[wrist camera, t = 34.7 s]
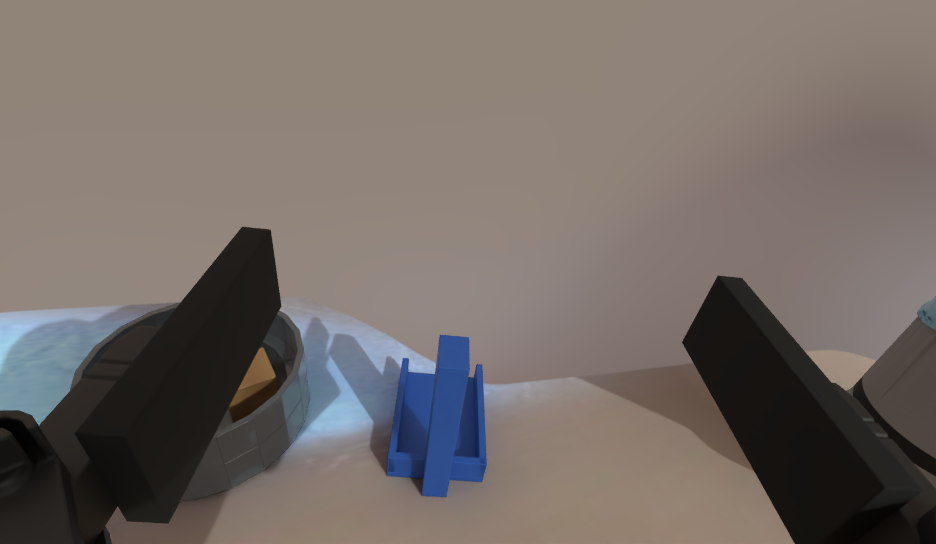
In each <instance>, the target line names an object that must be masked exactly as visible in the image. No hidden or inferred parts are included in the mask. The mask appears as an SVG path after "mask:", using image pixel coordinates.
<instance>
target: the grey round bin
mask: <svg viewBox="0 0 936 544" xmlns="http://www.w3.org/2000/svg"><path fill="white" fill-rule="evenodd" d="M180 303H181V302H180ZM180 303H177V304H174V305H170V306H167V307H164V308H161V309H158V310H155V311H151V312H149V313H147V314H145V315H143V316H141V317H139V318H137V319H135V320H133V321H131V322H129V323H127V324H125V325H123V326H121V327H120V328H118V329H117V330H116V331H115V332H113V333H112V334H111V335H109V336H108V337H107V338H106V339H104V340H103V341H102V342H100V343H99V344H98V345H97V346H95V347H94V348H93V349H92V351H91V352H90V353H89V354H88V356H87V357H86V358H85V360H84V361H83V362H82V363H81V365H80V366H79V367H78V369H77V370H76V372H75V374H74V378H73V381H72V385H71V388H70V391H71V390H72V388H73V387H74V386H75V385H76V384H77V383H78V382H79V381H80V380H81V378H82V379H84V378H85V374H86V373H87V372H88V371H89V370H90V369H91V367H92V366H93V365H94V364H95V363H98V362H99V359H100V357H101V356H102V355H103V354H104V353H105V352H106V351H107V350H108V349H109V347H110V346H111V345H112V344H113V343H114V342H115V341H116V340H117V339H119V338H120V337H122V336H124V335H125V334H127V333H128V332H130V331H131V330H133V329H135V328H136V327H138V326H139V325H144V326H156V327H161V326H162V325H163V324H164V323H165V321H166V320H167V319H168V318H169V316H170V315H171V314H172V313H173V311H174V310H175V309H176V308H177V307H178V305H179V304H180ZM260 348H264V350H265V352H266V354H267V357H268V359H269V361H270V364H271V366H272V368H273V370H274V373H275V375H276V379H277V385H278V392H277V393H276V394H275V395H274V396H272V397H271V398H270V399H269V400H268V401H266V402H265V403H264V404H263V405H261V406H260V407H259V408H258V409H256V410H255V411H254V412H253V413H251V414H250V415H248V416H246V417H244V418H242V419H240V420H238V421H236V422H234V423H233V421H232V418H231V415H230V412H229V409H228V410H227V412H226V414H225V415H224V417H223V419H222V421H221V423H220V425H219V427H218V429H217V431H216V433H215V435H214V437H213V439H212V440H211V442H210V444H209V446H208V448H207V450H206V452H205V454H204V456H203V458H202V460H201V462H200V464H199V466H198V467H197V469H196V471H195V473H194V475H193V477H192V479H191V481H190V483H189V485H188V487H187V489H186V491H185V492H184V494H183V496H182V498H181V500H193V499H194V500H195V499H199V498H202V497H205V496H209V495H212V494H215V493H218V492H222V491H225V490H228V489H231V488H233V487H235V486H237V485H239V484H240V483H242V482H244V481H246V480H247V479H249V478H251V477H253V476H254V475H256V474H258V473H260V472H261V471H263V470H264V469H266V468H267V467H268V466H269V465H270V464H271V463H272V462H274V461H275V460H276V459H277V458H278V457H279V456H280V455H281V454H282V453H283V452H284V451H285V450H286V449H287V448H288V447H289V446H290V445H291V443H292V441H293V440H294V438H295V437H296V435H297V433H298V432H299V430H300V428H301V427H302V425H303V423H304V422H305V417H306V413H307V408H308V403H309V391H308V382H307V374H306V365H305V356H304V348H303V344H302V339H301V334H300V331H299V329H298V328H297V327H296V325H295V324H294V323H293V322H292V320H291V319H290V318H289V317H288V316H287V315H286V314H285V313H283V312H281V311H278V313H277V315H276V317H275V319H274V321H273V323H272V325H271V327H270V329H269V331H268V333H267V335H266V337H265V338H264V340H263V342H262V344H261V346H260Z"/></svg>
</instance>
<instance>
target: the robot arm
mask: <svg viewBox="0 0 936 544" xmlns="http://www.w3.org/2000/svg"><path fill="white" fill-rule="evenodd" d="M280 308H281V300H280V293H279V286H278V279H277V272H276V265H275V258H274V251H273V244H272V236H271V230H268V229H259V228H249V227H242V228H241V229H240V230H239V232H238V233H237V234H236V235H235V237H234V238H233V239H232V240H231V241H230V243H229V244H228V245H227V246H226V248H225V249H224V250H223V251H222V253H221V254H220V255H219V256H218V257H217V259H216V260H215V261H214V262H213V264H212V265H211V266H210V267H209V268H208V270H207V271H206V272H205V273H204V275H203V276H202V277H201V279H200V280H199V281H198V282H197V283H196V285H195V286H194V287H193V288H192V289H191V291H190V292H189V293H188V294H187V296H186V297H185V298H184V299H183V300H182V302H181V303H180V304H179V305H178V307H177V308H176V309H175V310H174V311H173V313H172V314H171V315H170V316H169V318H168V319H167V320H166V321H165V323H164V324H163V325H162V326H161V327H156V326H144V325H139V326H138V327H136V328H135V329H133V330H131V331H130V332H128V333H127V334H125V335H124V336H122V337H120V338H119V339H117V340H116V341H115V342H114V343H113V344H112V345H111V346H110V347H109V349H108V350H107V351H106V352H105V353H104V354H103V355H102V356H101V357H100V359H99V362H98V363H95V364H94V365H93V366H92V367H91V369H90V370H89V371H88V372H87V373H86V374H85V378H84V379H82V378H81V380H80V381H79V382H78V383H77V384H76V385H75V386H74V387H73V388H72V390H71V391H70V392H69V393H68V394H67V395H66V396H65V397H64V398H63V400H62V401H61V402H60V403H59V404H58V405H57V406H56V407H55V408H54V410H53V411H52V412H51V413H50V414H49V415H48V416H47V417H46V418H45V420H44V421H43V422H42V423H41V424H40V425H39V426H38V424H37V423H36V421H35V420H34V418H33V417H32V415H29V414H27V413H24V412H21V411H19V410H16V411H0V544H112V543H111V539H110V534H109V532H108V530H107V529H106V527H105V525H106V524H107V522H108V520H109V519H110V517H111V516H112V514H113V512H114V511H115V509H116V508H117V506H118V507H119V509H120V510H121V512H122V514H123V515H124V517H125V519H126V520H127V521H133V522H152V523H169V521H170V519H171V518H172V516H173V514H174V512H175V510H176V508H177V506H178V504H179V502H180V500H181V498H182V496H183V494H184V492H185V491H186V489H187V487H188V485H189V483H190V481H191V479H192V477H193V475H194V473H195V471H196V469H197V467H198V466H199V464H200V462H201V460H202V458H203V456H204V454H205V452H206V450H207V448H208V446H209V444H210V442H211V440H212V439H213V437H214V435H215V433H216V431H217V429H218V427H219V425H220V423H221V421H222V419H223V417H224V415H225V414H226V412H227V410H228V408H229V406H230V404H231V402H232V400H233V398H234V396H235V394H236V392H237V390H238V388H239V387H240V385H241V383H242V381H243V379H244V377H245V375H246V373H247V371H248V369H249V367H250V365H251V363H252V362H253V360H254V358H255V356H256V354H257V352H258V350H259V348H260V346H261V344H262V342H263V340H264V338H265V337H266V335H267V333H268V331H269V329H270V327H271V325H272V323H273V321H274V319H275V317H276V315H277V313H278V311H279V310H280ZM917 314H918V317H917V318H916V319H915V320H914V321H913V322H912V323H911V325H910V326H909V327H908V328H907V329H906V330H905V331H904V332H903V333H902V334H901V335H900V336H899V337H898V339H897V340H896V341H895V342H894V343H893V344H892V345H891V346H890V347H889V348H888V349H887V350H886V351H885V353H884V354H883V355H882V356H881V357H880V358H879V359H878V360H877V361H876V362H875V363H874V364H873V365H872V366H871V368H870V369H869V370H868V371H867V372H866V373H865V374H864V375H863V377H862V378H861V379H860V380H859V381H858V382H857V383H856V384H855V385H854V386H853V387H852V388H851V389H849V390H847V391H845V390H844V389H843V388H841V387H840V386H839V385H837V384H836V383H831V382H830V380H829V379H828V378H827V377H826V376H825V375H824V373H823V372H822V371H821V370H820V369H819V368H818V366H817V365H816V364H815V363H814V362H813V361H812V359H811V358H810V357H809V356H808V355H807V354H806V352H805V351H804V350H803V349H802V348H801V347H800V345H799V344H798V343H797V342H796V341H795V340H794V338H793V337H792V336H791V335H790V334H789V333H788V331H787V330H786V329H785V328H784V327H783V326H782V324H781V323H780V322H779V321H778V320H777V319H776V318H775V316H774V315H773V314H772V313H771V312H770V310H769V309H768V308H767V307H766V306H765V305H764V304H763V302H762V301H761V300H760V299H759V297H758V296H757V295H756V294H755V293H754V292H753V291H752V289H751V288H750V287H749V286H748V285H747V283H746V282H745V281H744V280H743V279H742V278H735V277H725V276H718V277H717V278H716V280H715V282H714V284H713V286H712V288H711V289H710V291H709V293H708V295H707V297H706V299H705V300H704V303H703V304H702V306H701V308H700V310H699V312H698V314H697V316H696V317H695V319H694V321H693V323H692V325H691V326H690V328H689V330H688V332H687V334H686V336H685V338H684V339H683V342H682V343H683V345H684V347H685V348H686V350H687V352H688V354H689V356H690V357H691V359H692V361H693V363H694V365H695V366H696V368H697V370H698V372H699V373H700V375H701V377H702V379H703V381H704V382H705V384H706V386H707V388H708V389H709V391H710V393H711V395H712V397H713V398H714V400H715V402H716V404H717V406H718V407H719V409H720V411H721V413H722V414H723V416H724V418H725V420H726V422H727V423H728V425H729V427H730V429H731V431H732V432H733V434H734V436H735V438H736V439H737V441H738V443H739V445H740V447H741V448H742V450H743V452H744V454H745V456H746V457H747V459H748V461H749V463H750V464H751V466H752V468H753V470H754V472H755V473H756V475H757V477H758V479H759V481H760V482H761V484H762V486H763V488H764V489H765V491H766V493H767V495H768V497H769V498H770V500H771V502H772V504H773V506H774V507H775V509H776V511H777V513H778V514H779V516H780V518H781V520H782V522H783V523H784V525H785V527H786V529H787V530H788V532H789V534H790V536H791V538H792V539H793V541H794V543H795V544H936V296H935V297H934V298H933V299H932V300H931V301H929V302H927V303H925V304H923V305H922V306H921V307H920V309H919V310H918V312H917Z"/></svg>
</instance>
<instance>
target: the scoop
mask: <svg viewBox="0 0 936 544" xmlns="http://www.w3.org/2000/svg"><path fill="white" fill-rule="evenodd" d="M408 364H409V359H408V358H403V361H402V368H401V374H400V381H399V387H398V394H397V400H396V407H395V414H394V420H393V427H392V433H391V440H390V446H389V453H388V464H387V476H397V477H413V478H423V485H422V496H436V497H446V495H447V490H448V484H449V480H460V481H475V482H482V480H483V476H484V473H485V469H486V465H487V462H486V440H485V416H484V393H483V371H482V365H480V364H479V365H478V364H477V365H476V370H475V375H474V378H471V377H468V375H469V337H459V336H448V335H440V338H439V346H438V354H437V362H436V370H435V374H423V373H410V372H408Z"/></svg>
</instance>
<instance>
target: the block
mask: <svg viewBox="0 0 936 544" xmlns="http://www.w3.org/2000/svg"><path fill="white" fill-rule="evenodd" d="M277 392H278V385H277V379H276V375H275V373H274V370H273V368H272V366H271V364H270V361H269V359H268V357H267V354H266V352H265V350H264V348H259V350H258V352H257V354H256V356H255V358H254V360H253V362H252V363H251V365H250V367H249V369H248V371H247V373H246V375H245V377H244V379H243V381H242V383H241V385H240V387H239V388H238V390H237V392H236V394H235V396H234V398H233V400H232V402H231V404H230V406H229V408H228V409H229V412H230V415H231V418H232V421H233V423H234V422H236V421H238V420H240V419H242V418H244V417H246V416H248V415H250V414H251V413H253V412H254V411H255V410H256V409H258V408H259V407H260V406H261V405H263V404H264V403H265V402H266V401H268V400H269V399H270V398H271V397H272V396H274V395H275V394H276V393H277Z"/></svg>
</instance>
